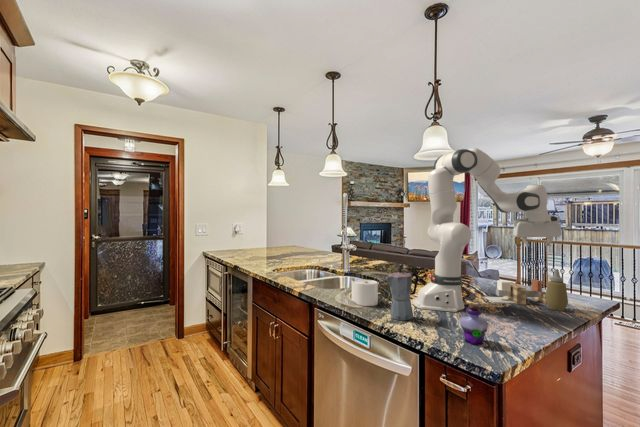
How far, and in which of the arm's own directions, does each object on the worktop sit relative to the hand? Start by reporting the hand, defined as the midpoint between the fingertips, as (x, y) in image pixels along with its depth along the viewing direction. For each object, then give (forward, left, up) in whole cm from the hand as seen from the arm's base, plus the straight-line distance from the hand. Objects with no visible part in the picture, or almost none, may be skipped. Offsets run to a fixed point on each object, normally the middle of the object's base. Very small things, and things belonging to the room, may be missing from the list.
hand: (537, 246), depth 146 cm
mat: (-17, +1, -27) cm, 32 cm away
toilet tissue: (-84, -11, -27) cm, 89 cm away
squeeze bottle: (+1, -11, -27) cm, 30 cm away
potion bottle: (-51, -51, -27) cm, 78 cm away
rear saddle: (+4, +1, -27) cm, 27 cm away
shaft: (-8, +1, -25) cm, 26 cm away
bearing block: (-10, +1, -27) cm, 29 cm away
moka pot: (-70, -29, -27) cm, 81 cm away
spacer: (-15, +1, -22) cm, 27 cm away
